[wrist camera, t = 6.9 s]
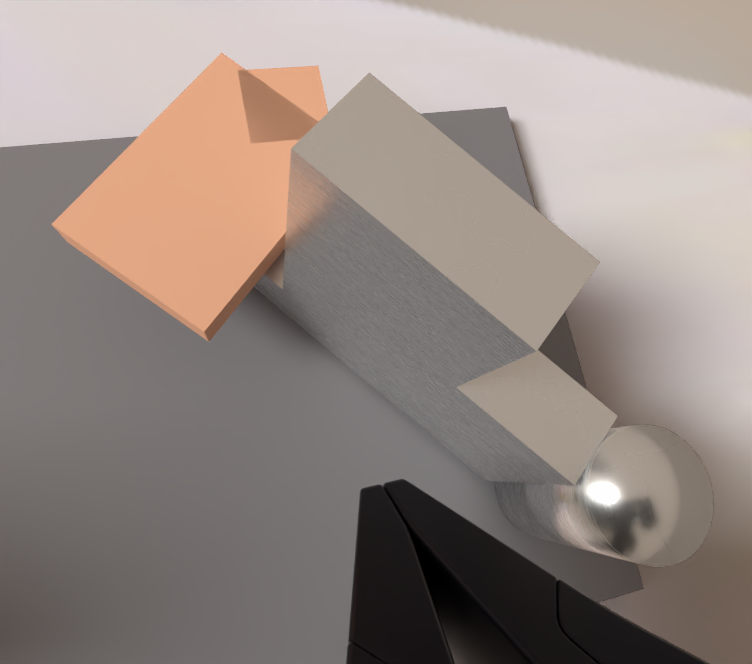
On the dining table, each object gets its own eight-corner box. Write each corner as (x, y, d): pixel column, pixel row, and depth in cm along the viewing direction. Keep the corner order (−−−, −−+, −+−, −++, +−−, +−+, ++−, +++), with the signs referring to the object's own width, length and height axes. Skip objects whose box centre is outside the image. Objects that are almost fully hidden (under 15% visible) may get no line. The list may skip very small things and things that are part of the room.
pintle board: (627, 582, 17) (749, 622, 13) (13, 768, 13) (-113, 913, 9) (497, 120, 20) (559, 24, 16) (-30, 165, 17) (-138, 55, 12)
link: (552, 558, 16) (850, 654, 8) (148, 222, 16) (20, -33, 8) (601, 478, 17) (918, 487, 8) (216, 159, 17) (165, -131, 9)
